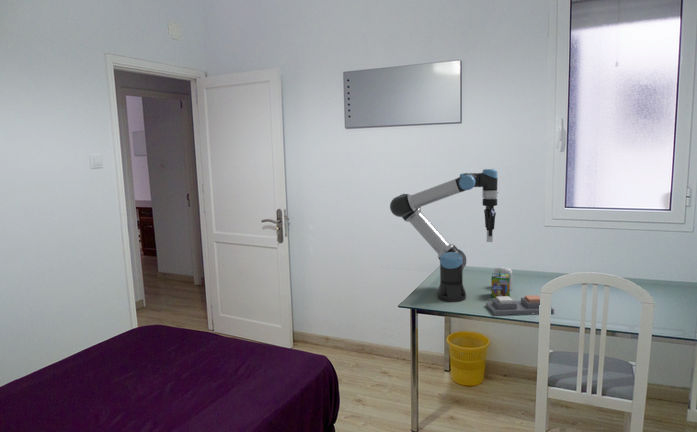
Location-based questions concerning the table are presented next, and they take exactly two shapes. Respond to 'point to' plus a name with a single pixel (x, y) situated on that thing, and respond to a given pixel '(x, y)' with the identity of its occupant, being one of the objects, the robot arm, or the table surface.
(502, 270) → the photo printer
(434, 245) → the robot arm
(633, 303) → the table surface
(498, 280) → the chalk box
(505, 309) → the key panel
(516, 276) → the table surface
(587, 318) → the table surface
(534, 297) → the terracotta key
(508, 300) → the white key
